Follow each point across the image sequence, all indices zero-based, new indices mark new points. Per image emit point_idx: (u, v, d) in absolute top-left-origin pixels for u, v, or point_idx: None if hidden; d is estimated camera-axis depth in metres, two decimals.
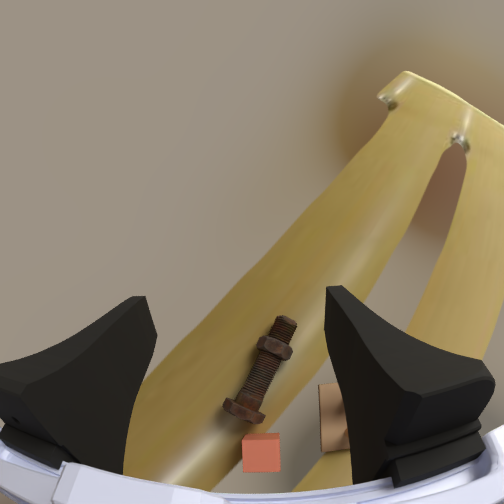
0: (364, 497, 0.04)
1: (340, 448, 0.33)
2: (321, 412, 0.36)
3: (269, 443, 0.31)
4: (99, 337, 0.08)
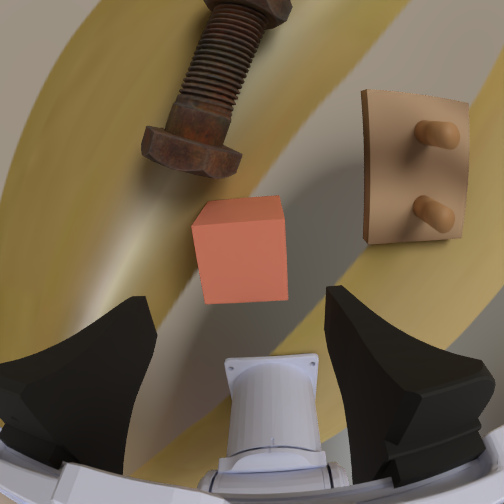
0: (364, 497, 0.04)
1: (402, 239, 0.19)
2: (371, 153, 0.17)
3: (260, 230, 0.15)
4: (99, 337, 0.08)
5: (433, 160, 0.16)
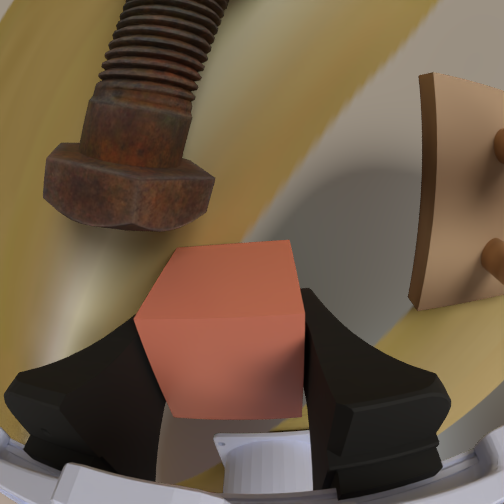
0: (364, 497, 0.04)
1: (461, 300, 0.12)
2: (437, 176, 0.10)
3: (258, 332, 0.08)
4: (133, 339, 0.08)
5: None
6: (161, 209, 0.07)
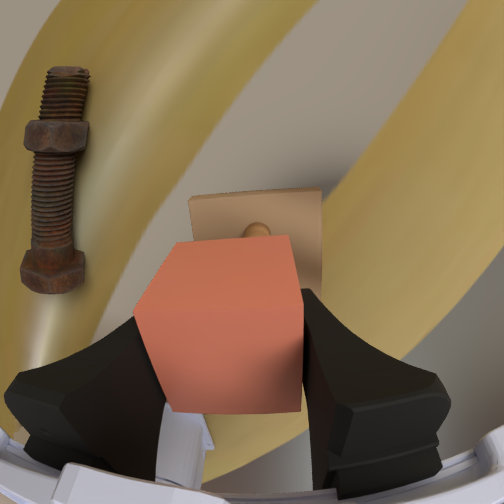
0: (364, 497, 0.04)
1: None
2: None
3: (256, 323, 0.08)
4: (133, 339, 0.08)
5: None
6: (61, 286, 0.17)
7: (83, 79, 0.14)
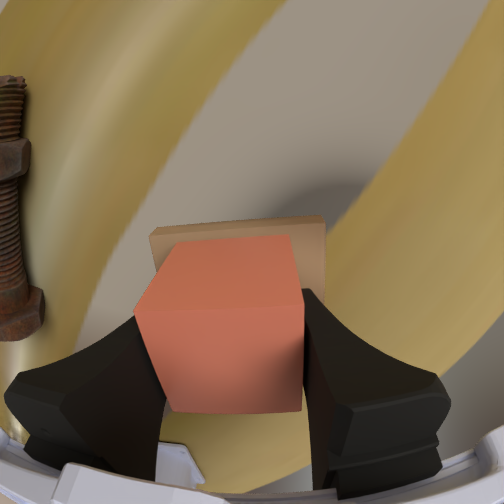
0: (364, 497, 0.04)
1: None
2: None
3: (257, 323, 0.08)
4: (133, 339, 0.08)
5: None
6: (15, 333, 0.13)
7: (15, 89, 0.10)
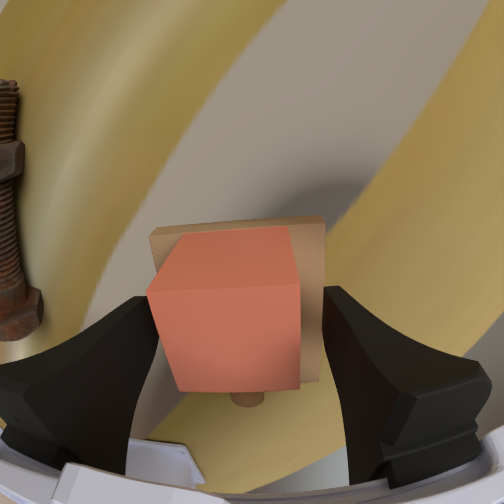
0: (364, 497, 0.04)
1: None
2: None
3: (258, 301, 0.09)
4: (102, 337, 0.08)
5: None
6: (13, 333, 0.13)
7: (7, 92, 0.10)
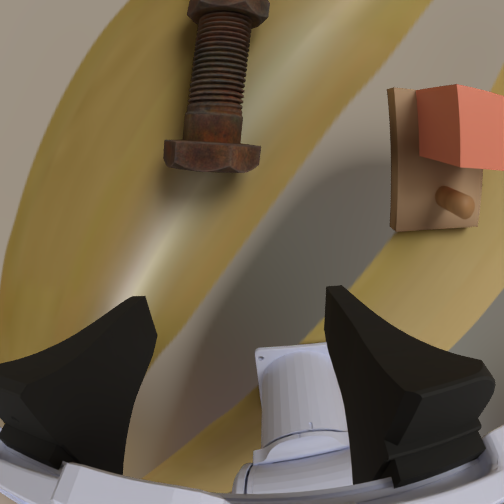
0: (364, 497, 0.04)
1: (426, 227, 0.19)
2: (398, 146, 0.17)
3: (498, 102, 0.11)
4: (99, 337, 0.08)
5: None
6: (240, 160, 0.15)
7: None
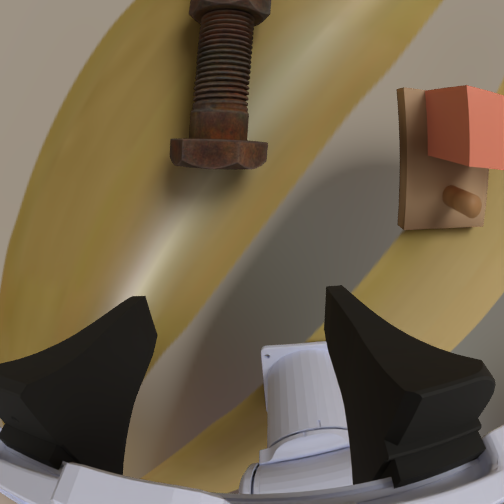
0: (364, 497, 0.04)
1: (433, 226, 0.19)
2: (407, 145, 0.17)
3: None
4: (99, 337, 0.08)
5: None
6: (248, 157, 0.15)
7: None
